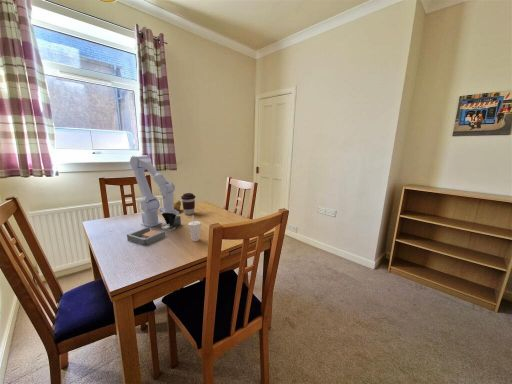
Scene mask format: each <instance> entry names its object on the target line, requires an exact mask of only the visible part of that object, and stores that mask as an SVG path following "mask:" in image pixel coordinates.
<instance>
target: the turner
mask: <svg viewBox="0 0 512 384" xmlns="http://www.w3.org/2000/svg"><path fill="white" fill-rule="evenodd" d="M181 222H182V221H181V216H180V215H176V217H175V220H174V224H173V225H170V222H169V224H166V225H162V226H161V227H160V230H163V231H168V232H172V231H174V230H176V227H178V226H181V224H182V223H181Z"/></svg>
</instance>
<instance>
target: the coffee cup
mask: <svg viewBox="0 0 512 384" xmlns="http://www.w3.org/2000/svg"><path fill="white" fill-rule="evenodd" d="M195 198H196V195H195V194H193V192H192V193H191V192H187V193H183V195H181V196H180V199H181V200H182V201H181V204H182V208H183V213H184V215H186V216H188V215H189V216H190V215H194V214H195V207H196V205H195V204H196V199H195Z"/></svg>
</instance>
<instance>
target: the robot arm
mask: <svg viewBox="0 0 512 384" xmlns="http://www.w3.org/2000/svg"><path fill="white" fill-rule="evenodd" d="M129 163H130V167H131V168H132V171H133V174H134V177H135V180H136V182H137V185H138V187H139V190H140V193H141V196H142V198H141V200H140V207H141V210H142V213H141V220H142V221H141V222H142V223H141V225H142V226H146V227H149V228H152V227H153V228H154V227H155V226H158V225H161V224H162V221H161V222H160V221H159V212H160V213H161V216H162V217H163V219H164V221H165V224H166V225H169V222H170V225H173V224H174V220H175V217H176V216H180V210H179V211H176V210H175V209H174V191H175V185H174V183H173V182H171V181H169V180H167V178H166V177H165V176H164V174H162V173H159V172H158V170H157V169H156V168H155V165H154V164H153V163H152V159H151V158H150V156H149V155H147V154H143V155H132V156H131V157H130V160H129ZM145 170H147V172H149V173H150V174H151V176H153V178H152V179H153V181H154V182H155V183H156V184H157V186H158V187H159V191H160V194H161V196H162V203H163V205H162V206H163V207H161V203H160V201H159V200H158V199H157V196H155V195H153V194H152V190H151V188H150V185H149V182H148V180H147V176H146V174H145ZM160 207H161V208H160ZM158 210H159V212H158Z"/></svg>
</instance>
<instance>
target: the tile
mask: <svg viewBox="0 0 512 384" xmlns="http://www.w3.org/2000/svg"><path fill="white" fill-rule="evenodd" d="M160 232H161V231H158V230H155V229H154V230H153V229H151V230H150V231H149V232H147V233H145V234H142V235H141V238H144V239H146V238H148V237H151V236H153V235H155V234H158V233H160Z"/></svg>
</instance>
